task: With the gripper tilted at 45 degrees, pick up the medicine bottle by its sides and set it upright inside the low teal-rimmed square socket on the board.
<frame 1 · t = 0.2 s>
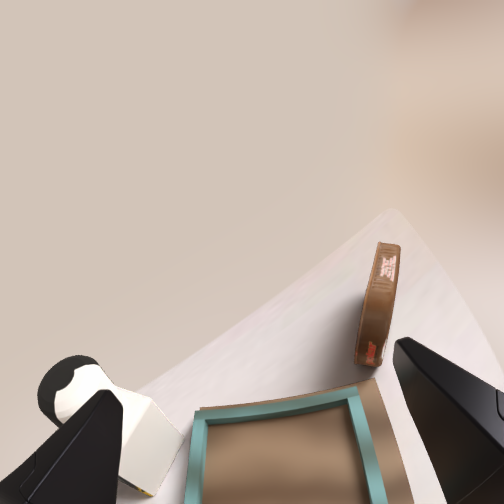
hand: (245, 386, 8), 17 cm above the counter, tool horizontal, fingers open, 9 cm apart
tin: (380, 330, 29), on the counter
medicine bottle: (142, 456, 21), on the counter
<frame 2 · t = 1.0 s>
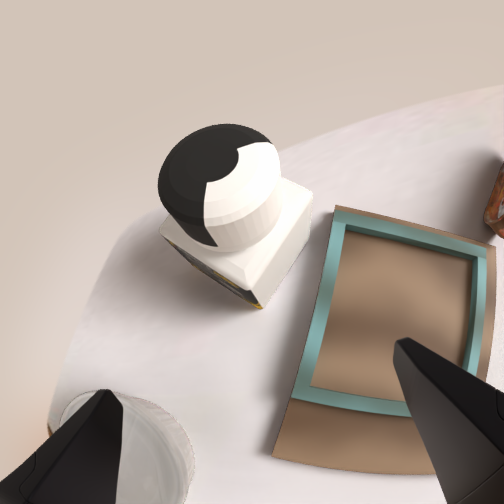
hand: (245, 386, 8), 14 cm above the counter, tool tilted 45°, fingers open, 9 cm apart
ramekin: (145, 447, 20), on the counter
tin: (502, 198, 22), on the counter
medicine bottle: (250, 252, 24), on the counter
socket board: (406, 348, 19), on the counter
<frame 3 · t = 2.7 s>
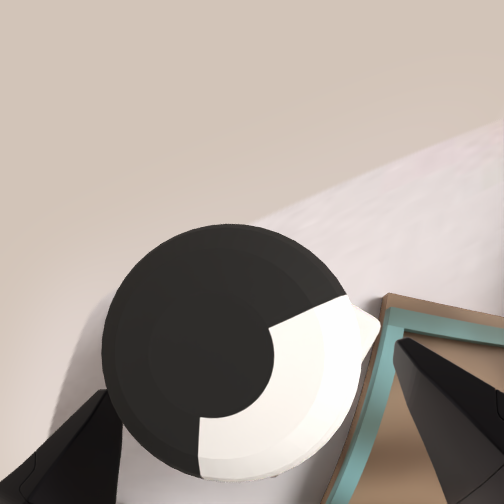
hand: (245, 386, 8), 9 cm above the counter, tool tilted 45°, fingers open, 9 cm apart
medicine bottle: (266, 356, 17), on the counter
socket board: (449, 461, 12), on the counter
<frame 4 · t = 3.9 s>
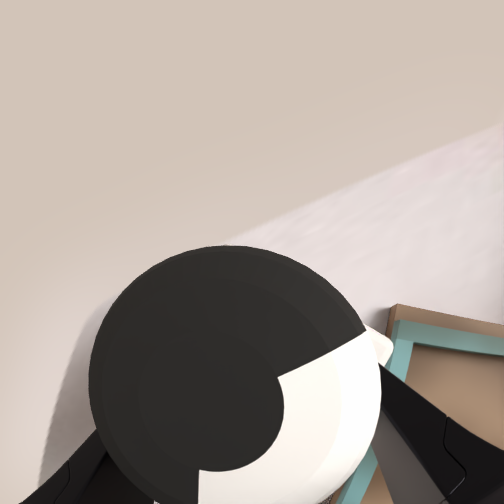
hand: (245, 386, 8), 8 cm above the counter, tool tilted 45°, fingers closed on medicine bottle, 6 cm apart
medicine bottle: (269, 369, 16), on the counter, touching gripper
socket board: (453, 472, 11), on the counter
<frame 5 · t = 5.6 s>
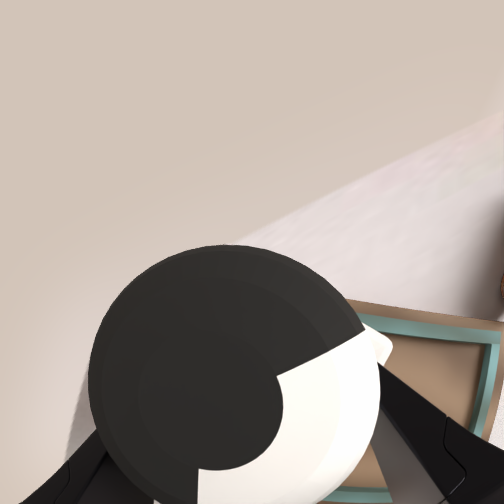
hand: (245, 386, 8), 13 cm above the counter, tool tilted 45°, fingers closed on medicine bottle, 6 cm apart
medicine bottle: (268, 368, 16), point 5 cm above the counter, touching gripper
socket board: (409, 438, 17), on the counter
when the fingers open (12 cm above the counter, at t = 7.4 s): medicine bottle drops 2 cm, resting on socket board.
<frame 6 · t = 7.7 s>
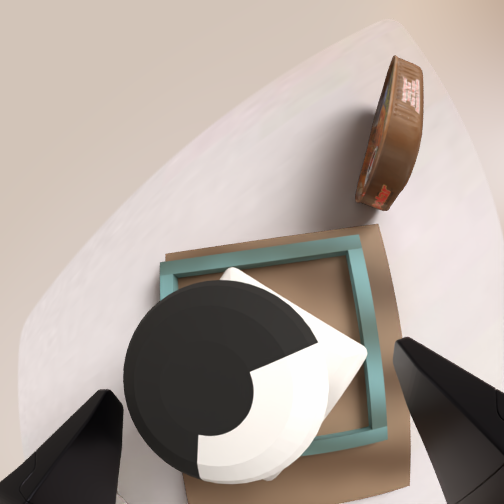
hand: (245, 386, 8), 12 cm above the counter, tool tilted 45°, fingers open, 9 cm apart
tin: (382, 157, 24), on the counter
medicine bottle: (273, 370, 18), point 1 cm above the counter, touching socket board
socket board: (288, 381, 19), on the counter
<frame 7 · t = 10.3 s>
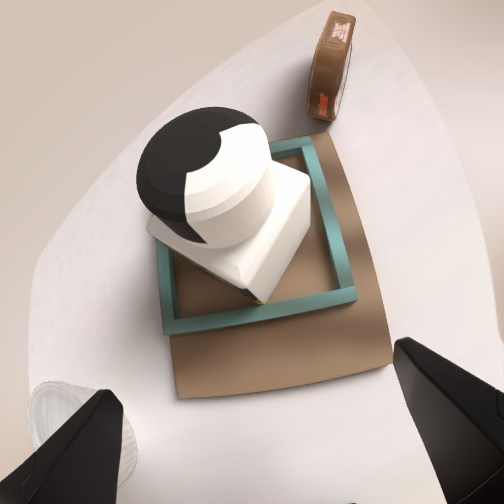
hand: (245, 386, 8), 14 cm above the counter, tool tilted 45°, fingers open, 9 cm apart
ramekin: (101, 433, 21), on the counter
tin: (334, 91, 28), on the counter
medicine bottle: (248, 244, 23), point 1 cm above the counter, touching socket board
socket board: (263, 257, 23), on the counter
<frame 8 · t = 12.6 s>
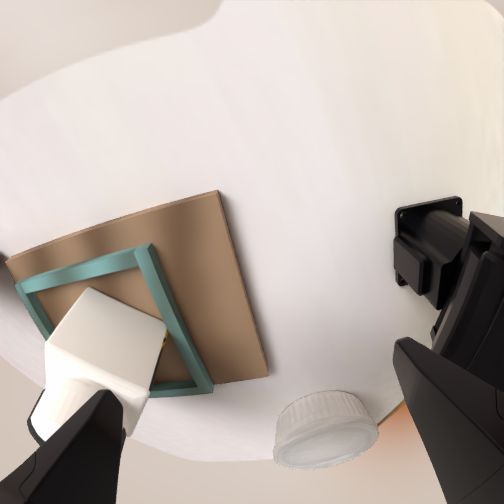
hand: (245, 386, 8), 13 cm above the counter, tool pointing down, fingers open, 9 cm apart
ramekin: (318, 412, 29), on the counter
medicine bottle: (120, 332, 22), point 1 cm above the counter, touching socket board
socket board: (128, 316, 22), on the counter
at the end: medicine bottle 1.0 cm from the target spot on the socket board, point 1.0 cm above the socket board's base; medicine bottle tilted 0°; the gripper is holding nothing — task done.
